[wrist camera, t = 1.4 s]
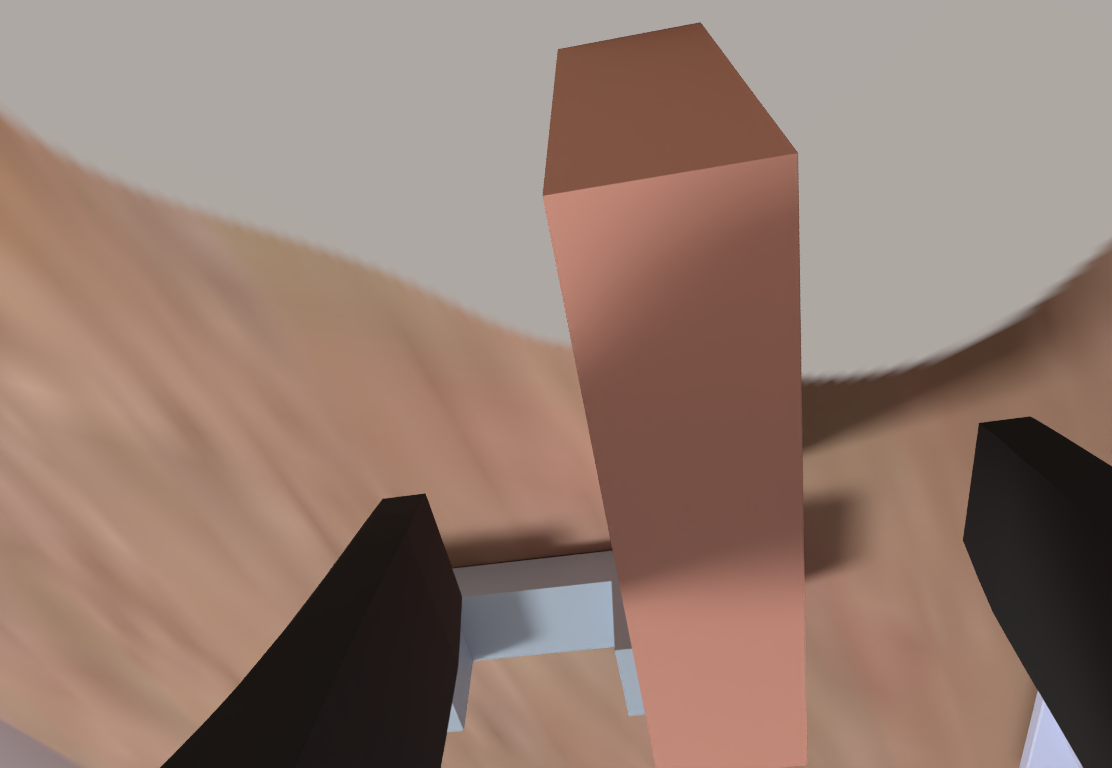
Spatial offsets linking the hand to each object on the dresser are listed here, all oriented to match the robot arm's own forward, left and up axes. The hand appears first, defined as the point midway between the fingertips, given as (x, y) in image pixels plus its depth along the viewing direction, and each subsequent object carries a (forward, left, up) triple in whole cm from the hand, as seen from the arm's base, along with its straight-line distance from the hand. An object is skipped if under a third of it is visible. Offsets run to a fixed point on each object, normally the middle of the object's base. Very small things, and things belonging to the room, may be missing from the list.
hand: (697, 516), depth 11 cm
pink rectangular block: (0, 0, -6) cm, 6 cm away
